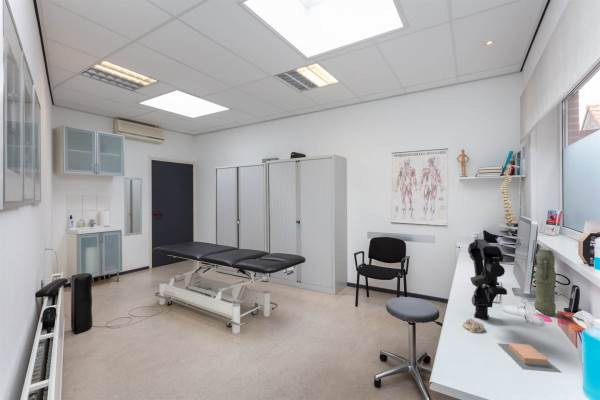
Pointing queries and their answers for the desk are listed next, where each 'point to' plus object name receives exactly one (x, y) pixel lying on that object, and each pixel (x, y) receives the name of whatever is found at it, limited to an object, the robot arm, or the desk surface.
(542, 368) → the mat
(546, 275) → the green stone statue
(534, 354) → the tile
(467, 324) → the rock
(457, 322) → the desk surface
